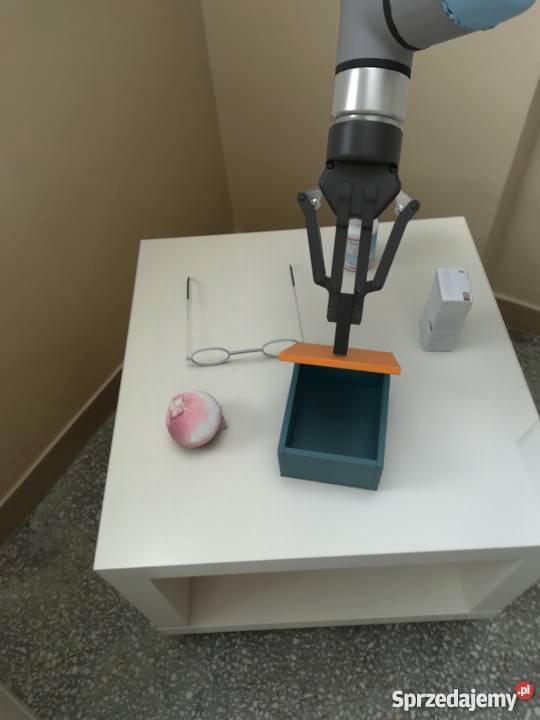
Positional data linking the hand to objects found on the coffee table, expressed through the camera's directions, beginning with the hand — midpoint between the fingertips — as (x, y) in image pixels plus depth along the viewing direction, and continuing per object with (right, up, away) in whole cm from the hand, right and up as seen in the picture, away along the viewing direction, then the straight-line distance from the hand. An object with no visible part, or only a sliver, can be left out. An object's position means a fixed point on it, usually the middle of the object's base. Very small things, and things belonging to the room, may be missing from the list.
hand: (340, 352), depth 59 cm
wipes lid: (+1, -1, +4) cm, 4 cm away
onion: (-18, -11, +16) cm, 26 cm away
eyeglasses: (-12, +6, +27) cm, 30 cm away
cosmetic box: (+18, +3, +22) cm, 28 cm away
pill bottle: (+7, +16, +32) cm, 37 cm away
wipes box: (+1, -11, +14) cm, 18 cm away
